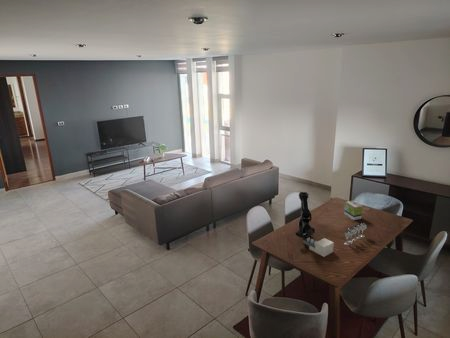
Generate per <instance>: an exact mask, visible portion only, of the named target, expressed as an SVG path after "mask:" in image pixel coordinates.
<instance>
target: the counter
mask: <svg viewBox="0 0 450 338" xmlns="http://www.w3.org/2000/svg"><path fill="white" fill-rule="evenodd" d="M334 244H335V243H334V241H331V240H329V239H327V238H325V237H323V238H322V239H319V240H318V241H317V242H316V243H315V248H314V247H312V246H308V249H309V250H310V251H312V252H314V253H315V254H318V255H320V256H321V257H323V258H324V257H326V256H329V255H330V254H332V253H334V246H335V245H334Z"/></svg>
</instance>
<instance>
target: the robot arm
mask: <svg viewBox="0 0 450 338" xmlns="http://www.w3.org/2000/svg"><path fill="white" fill-rule="evenodd" d="M309 196H310V195H309V193H307V192H306V191H300V192H299V193H298V198H299V200H300V217H299V220H298V222H297V226H298V231H297V232H295V236H297V237H298V238H302V239H303V240H304V239H307V237H308V236H309V237H312V236H313V235H314V234H316V229H315V228H313V227H312V226H311V223H310V222H312V218H313V217H312V213H311V210H310V209H309V204H308V199H309Z"/></svg>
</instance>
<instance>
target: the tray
mask: <svg viewBox="0 0 450 338" xmlns="http://www.w3.org/2000/svg"><path fill="white" fill-rule="evenodd" d="M310 237H311V236H309V237H308V236H307V238H306V239H303V240H302V241H303V244H304V245H306V246H307V247H309V246H312V247H314V248H315V243H316V242H318V241H317V240H314V239H313V238H310Z"/></svg>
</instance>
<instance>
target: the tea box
mask: <svg viewBox="0 0 450 338" xmlns="http://www.w3.org/2000/svg"><path fill="white" fill-rule="evenodd" d="M343 213H344V215H345V216H346V217H348V218H350V219H351V220H353V221H356V220H361V219H362V216H363V205H362V204H360V203H358V202H356V201H354V200H347V201H345V202H344V212H343Z"/></svg>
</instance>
